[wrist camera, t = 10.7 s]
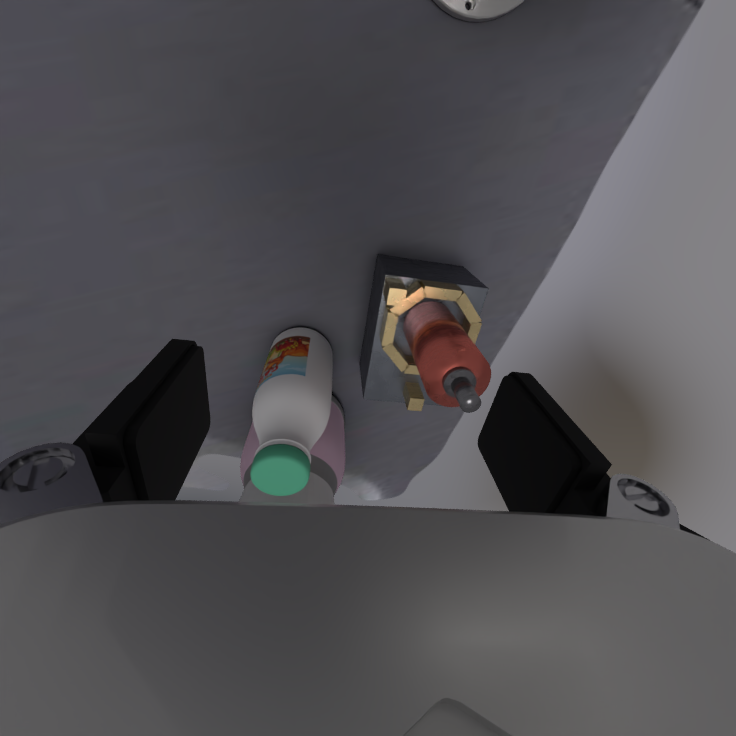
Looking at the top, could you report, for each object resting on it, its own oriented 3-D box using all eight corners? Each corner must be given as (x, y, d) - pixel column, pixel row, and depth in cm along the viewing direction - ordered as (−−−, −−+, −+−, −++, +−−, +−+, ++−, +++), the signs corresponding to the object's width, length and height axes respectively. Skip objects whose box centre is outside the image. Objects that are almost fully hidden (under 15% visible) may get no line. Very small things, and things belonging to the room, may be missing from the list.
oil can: (409, 297, 33) (446, 368, 22) (459, 305, 34) (519, 377, 22) (398, 344, 35) (425, 429, 24) (445, 350, 36) (492, 435, 25)
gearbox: (377, 254, 38) (389, 284, 29) (471, 267, 40) (511, 300, 30) (359, 363, 45) (365, 416, 36) (440, 370, 47) (465, 423, 37)
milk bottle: (336, 329, 42) (334, 446, 26) (329, 381, 46) (324, 512, 30) (271, 321, 41) (225, 439, 24) (270, 375, 45) (229, 508, 28)
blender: (238, 395, 47) (97, 731, 19) (322, 364, 45) (297, 681, 18) (292, 470, 55) (246, 783, 27) (365, 446, 53) (393, 752, 26)
